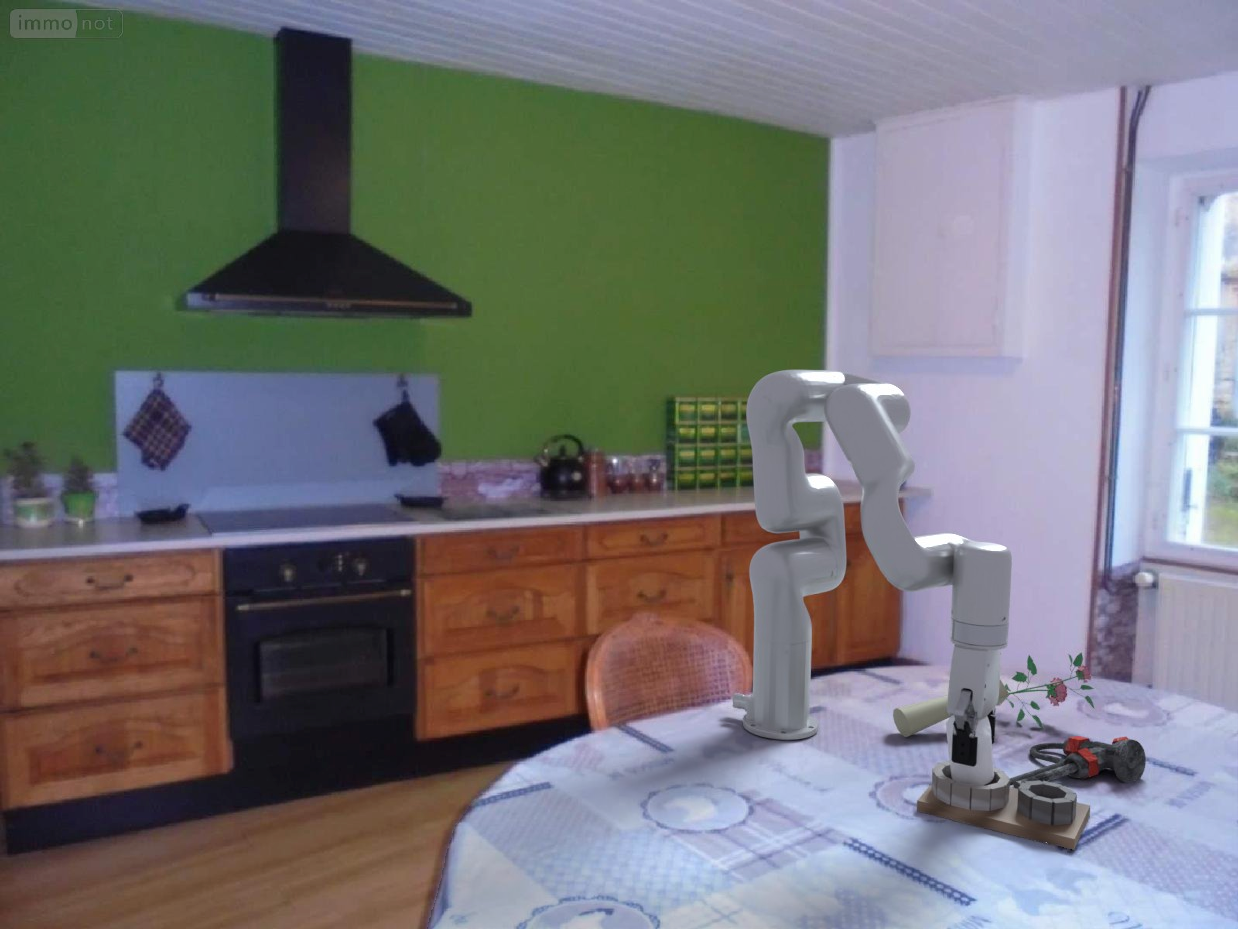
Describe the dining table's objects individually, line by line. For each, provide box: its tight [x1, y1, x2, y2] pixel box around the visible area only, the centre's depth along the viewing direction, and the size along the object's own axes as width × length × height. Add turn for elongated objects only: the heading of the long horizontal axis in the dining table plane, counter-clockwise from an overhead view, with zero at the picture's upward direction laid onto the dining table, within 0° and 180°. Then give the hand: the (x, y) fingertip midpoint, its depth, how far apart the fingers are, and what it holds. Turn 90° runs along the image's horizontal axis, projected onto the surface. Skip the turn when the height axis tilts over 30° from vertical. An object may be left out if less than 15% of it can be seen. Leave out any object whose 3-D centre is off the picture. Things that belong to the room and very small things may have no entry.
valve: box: [1009, 735, 1147, 789], centre depth 154 cm, size 6×26×15 cm
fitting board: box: [916, 760, 1091, 851], centre depth 139 cm, size 20×12×4 cm, turn 57°
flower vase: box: [892, 652, 1095, 738], centre depth 172 cm, size 12×12×35 cm
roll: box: [945, 706, 995, 785], centre depth 140 cm, size 6×12×6 cm
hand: (973, 752), depth 142 cm, fingers open, 9 cm apart
